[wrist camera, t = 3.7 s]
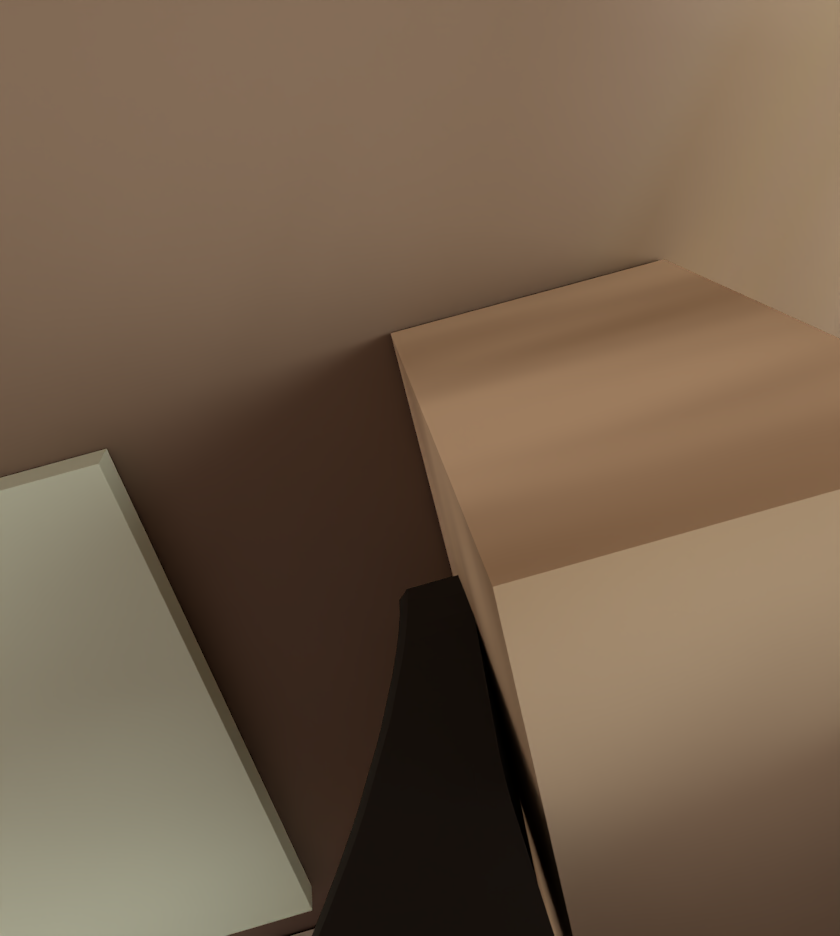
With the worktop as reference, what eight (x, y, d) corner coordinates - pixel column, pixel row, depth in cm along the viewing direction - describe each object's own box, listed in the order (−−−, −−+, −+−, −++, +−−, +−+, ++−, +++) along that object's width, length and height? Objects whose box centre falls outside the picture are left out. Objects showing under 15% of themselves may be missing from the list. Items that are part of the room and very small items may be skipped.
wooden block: (712, 834, 13) (923, 1207, 9) (533, 887, 13) (654, 1290, 9) (664, 259, 9) (1044, 432, 4) (390, 332, 9) (493, 587, 4)
